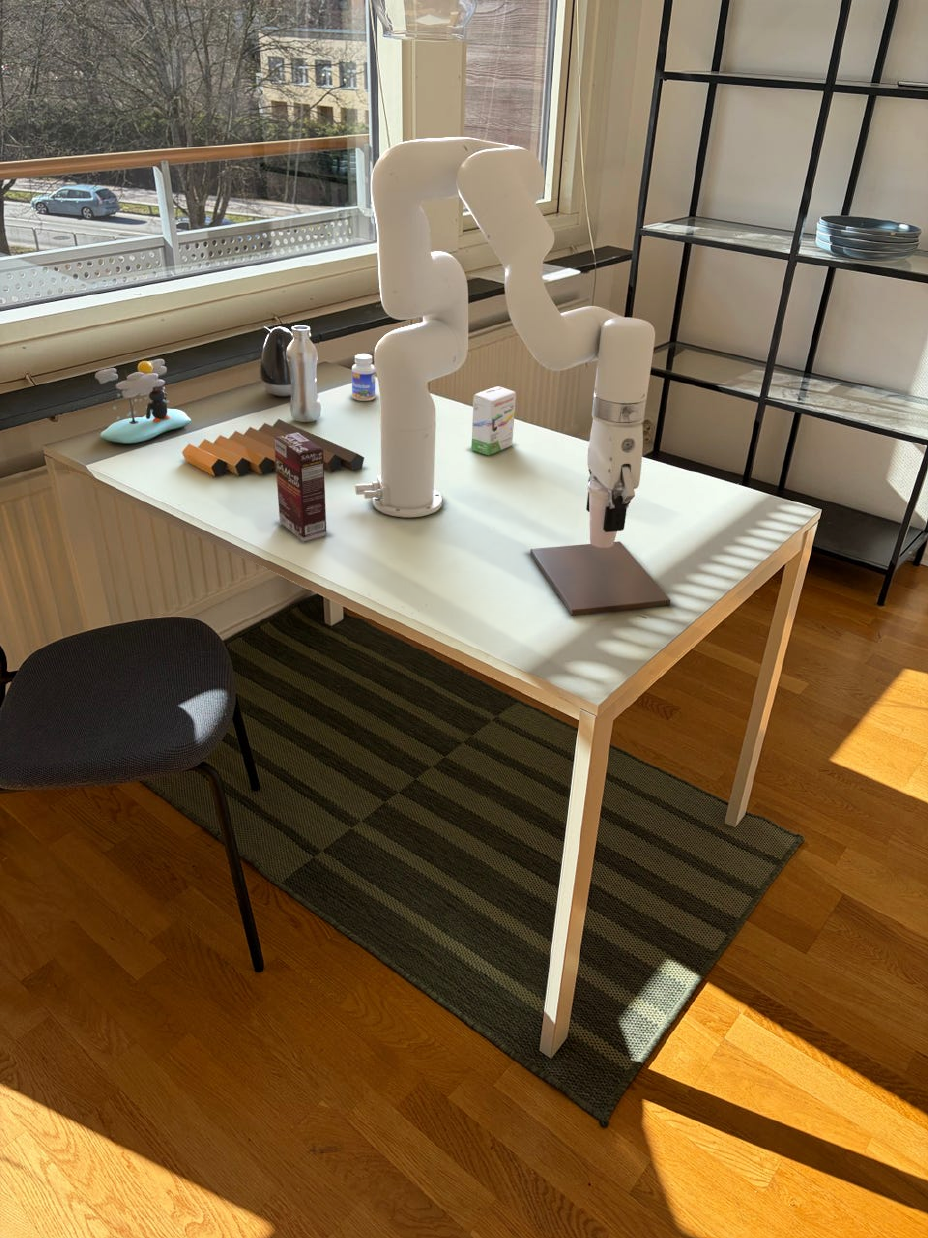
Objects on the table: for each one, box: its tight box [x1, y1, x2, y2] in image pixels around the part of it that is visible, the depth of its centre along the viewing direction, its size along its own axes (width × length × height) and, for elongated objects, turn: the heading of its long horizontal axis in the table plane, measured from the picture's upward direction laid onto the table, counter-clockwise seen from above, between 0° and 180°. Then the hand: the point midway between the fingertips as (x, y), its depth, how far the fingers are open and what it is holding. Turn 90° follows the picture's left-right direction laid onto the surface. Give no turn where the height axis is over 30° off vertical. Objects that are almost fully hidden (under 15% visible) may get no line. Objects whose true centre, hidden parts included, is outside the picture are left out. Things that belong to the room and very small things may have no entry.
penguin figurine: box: [94, 358, 193, 444], centre depth 195 cm, size 20×11×15 cm, turn 144°
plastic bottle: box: [286, 325, 322, 423], centre depth 204 cm, size 6×7×20 cm
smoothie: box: [586, 478, 622, 548], centre depth 146 cm, size 6×6×14 cm
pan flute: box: [181, 418, 365, 477], centre depth 186 cm, size 25×3×25 cm
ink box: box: [470, 385, 517, 456], centre depth 196 cm, size 8×5×12 cm, turn 141°
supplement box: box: [274, 432, 328, 543], centre depth 159 cm, size 9×5×16 cm, turn 37°
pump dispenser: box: [259, 326, 293, 397], centre depth 220 cm, size 10×10×15 cm
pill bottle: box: [351, 353, 376, 402], centre depth 220 cm, size 5×5×10 cm
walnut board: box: [529, 540, 671, 616], centre depth 153 cm, size 16×20×1 cm
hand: (604, 519), depth 147 cm, fingers closed on smoothie, 6 cm apart
